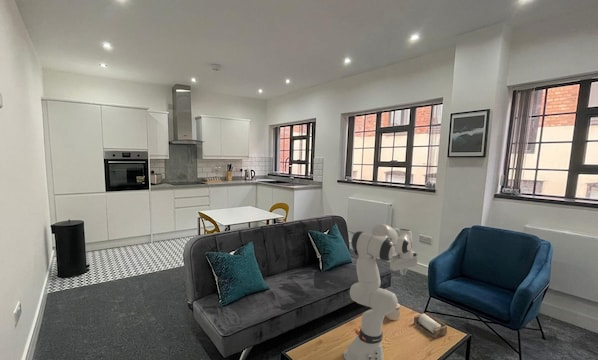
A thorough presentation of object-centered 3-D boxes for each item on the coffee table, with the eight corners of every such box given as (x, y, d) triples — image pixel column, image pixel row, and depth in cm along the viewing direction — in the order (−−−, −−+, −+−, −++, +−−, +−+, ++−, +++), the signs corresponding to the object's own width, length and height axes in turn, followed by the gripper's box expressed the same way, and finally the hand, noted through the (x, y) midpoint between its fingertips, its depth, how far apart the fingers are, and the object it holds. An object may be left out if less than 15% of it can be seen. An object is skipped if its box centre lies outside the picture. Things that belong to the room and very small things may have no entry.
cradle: (435, 338, 172) (435, 329, 171) (413, 323, 187) (414, 315, 186) (446, 334, 176) (447, 325, 176) (424, 320, 191) (425, 311, 190)
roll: (432, 327, 174) (433, 336, 175) (440, 322, 176) (442, 332, 177) (417, 316, 185) (418, 325, 186) (425, 311, 187) (427, 321, 188)
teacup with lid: (402, 320, 190) (402, 304, 189) (388, 321, 189) (389, 304, 188) (394, 310, 202) (395, 295, 201) (382, 311, 201) (382, 295, 200)
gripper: (395, 257, 174) (394, 279, 175) (419, 253, 182) (418, 273, 184) (388, 254, 179) (387, 275, 181) (411, 250, 188) (410, 270, 189)
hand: (403, 274), depth 182 cm, fingers closed
